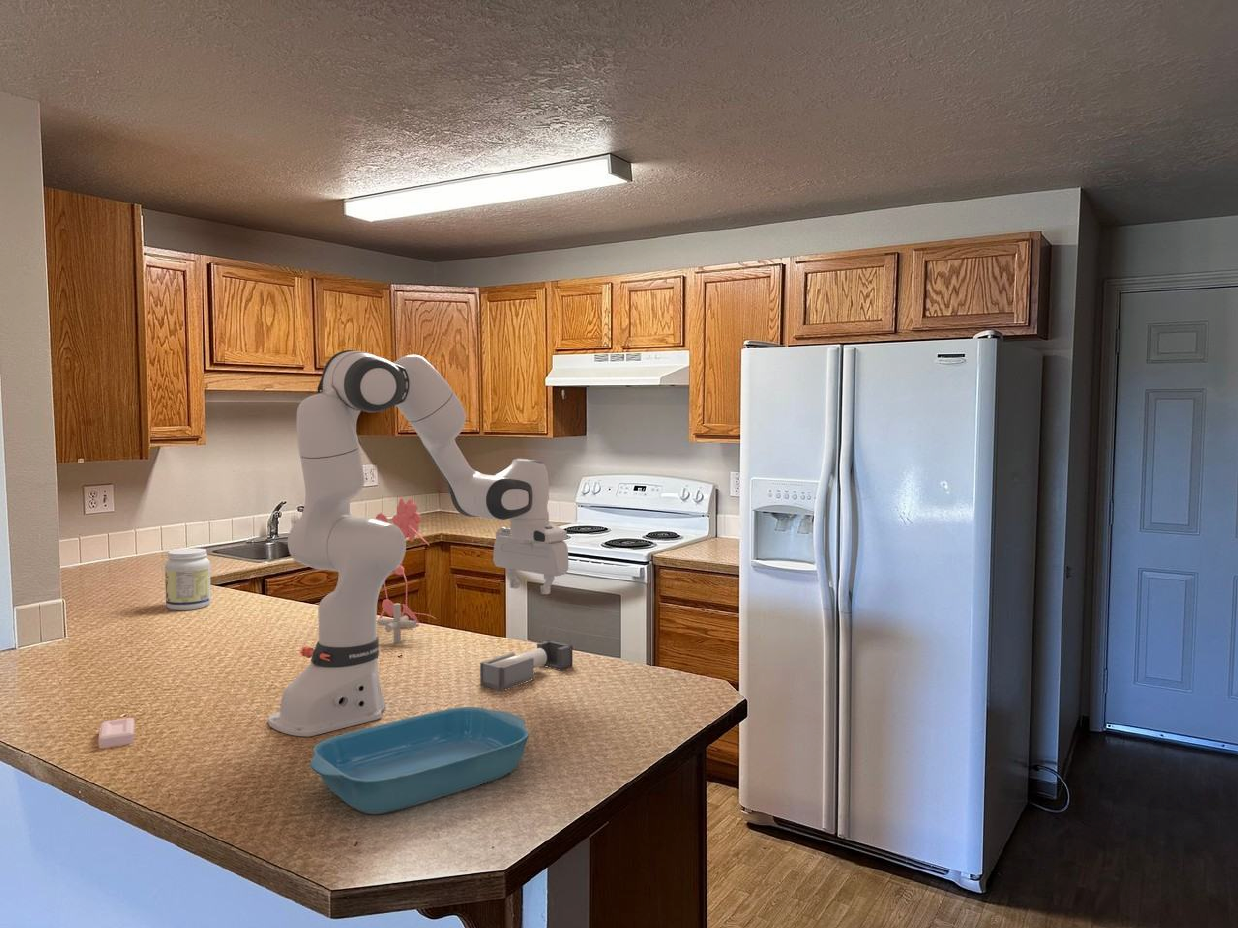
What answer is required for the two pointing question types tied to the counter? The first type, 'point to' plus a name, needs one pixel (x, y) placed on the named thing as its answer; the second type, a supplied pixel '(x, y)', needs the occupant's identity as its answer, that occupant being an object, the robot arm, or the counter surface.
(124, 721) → the soap bar
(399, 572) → the figurine
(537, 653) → the slip tube
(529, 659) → the sleeve
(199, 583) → the supplement tub
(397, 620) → the pipe connector
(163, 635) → the counter surface
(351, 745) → the casserole dish
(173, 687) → the counter surface
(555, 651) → the socket
